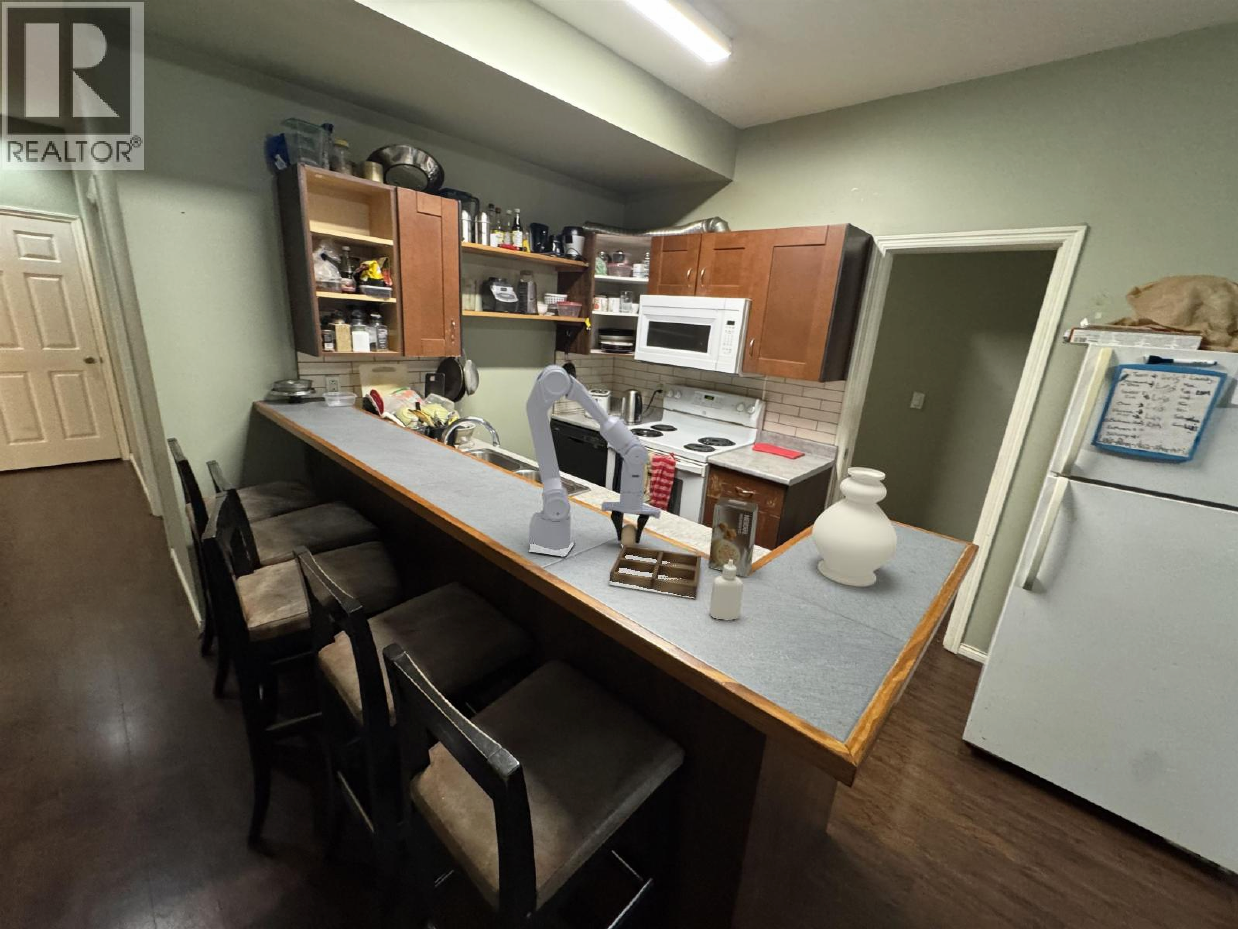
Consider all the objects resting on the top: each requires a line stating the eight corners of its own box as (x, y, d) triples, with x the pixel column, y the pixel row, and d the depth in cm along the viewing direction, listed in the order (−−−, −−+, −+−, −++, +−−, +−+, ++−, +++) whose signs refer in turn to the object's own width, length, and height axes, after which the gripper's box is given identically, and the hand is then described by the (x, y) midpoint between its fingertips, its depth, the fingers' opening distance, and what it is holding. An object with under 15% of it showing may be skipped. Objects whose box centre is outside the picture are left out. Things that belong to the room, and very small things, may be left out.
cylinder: (619, 548, 121) (620, 526, 119) (622, 542, 125) (623, 520, 123) (634, 551, 120) (636, 528, 118) (637, 544, 124) (639, 522, 122)
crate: (609, 585, 104) (609, 572, 103) (623, 556, 117) (624, 544, 117) (695, 599, 100) (697, 586, 99) (700, 567, 114) (701, 555, 113)
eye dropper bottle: (712, 606, 98) (719, 552, 95) (740, 614, 96) (748, 559, 93) (706, 617, 94) (713, 561, 91) (735, 626, 92) (743, 568, 89)
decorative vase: (857, 600, 103) (880, 489, 96) (790, 564, 118) (806, 465, 111) (904, 582, 112) (929, 478, 105) (837, 550, 127) (854, 458, 120)
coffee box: (752, 567, 115) (761, 503, 111) (745, 578, 110) (754, 512, 106) (714, 557, 119) (722, 495, 115) (706, 567, 114) (713, 503, 110)
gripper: (663, 487, 121) (659, 538, 124) (607, 481, 123) (604, 530, 127) (659, 497, 114) (655, 550, 118) (600, 489, 117) (597, 541, 120)
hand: (628, 540), depth 122 cm, fingers closed on cylinder, 4 cm apart
